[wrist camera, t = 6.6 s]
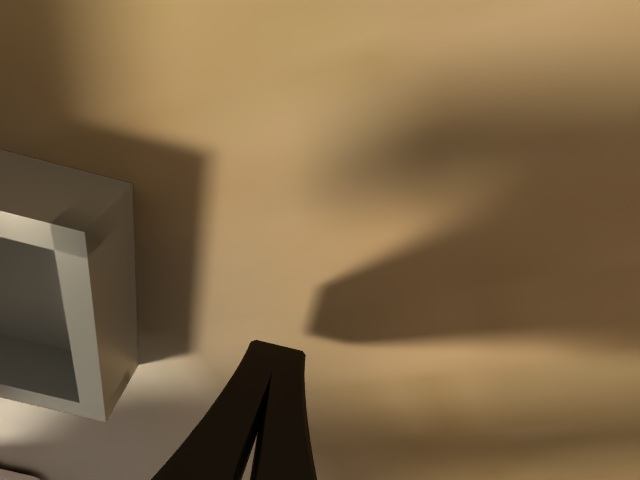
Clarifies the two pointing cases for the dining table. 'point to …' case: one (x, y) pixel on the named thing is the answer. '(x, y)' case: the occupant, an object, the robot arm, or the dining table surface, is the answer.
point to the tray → (66, 287)
